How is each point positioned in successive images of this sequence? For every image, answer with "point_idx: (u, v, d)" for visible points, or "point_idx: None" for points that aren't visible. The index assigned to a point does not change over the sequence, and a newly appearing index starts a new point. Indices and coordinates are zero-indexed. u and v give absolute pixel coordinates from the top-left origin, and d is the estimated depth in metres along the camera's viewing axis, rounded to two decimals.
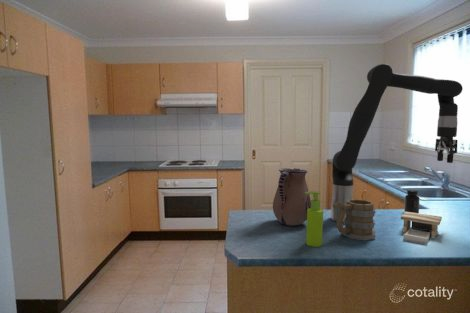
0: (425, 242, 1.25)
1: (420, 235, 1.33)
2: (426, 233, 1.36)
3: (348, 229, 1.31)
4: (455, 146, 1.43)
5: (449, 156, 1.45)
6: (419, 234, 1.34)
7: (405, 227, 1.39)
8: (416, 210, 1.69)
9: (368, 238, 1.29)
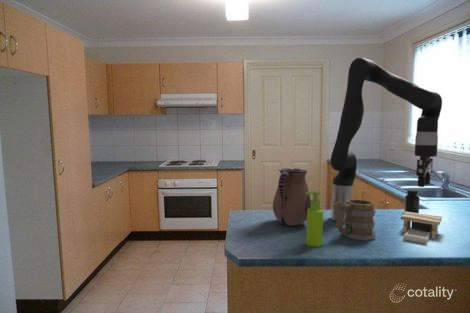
0: (425, 242, 1.25)
1: (420, 235, 1.33)
2: (426, 233, 1.36)
3: (348, 229, 1.31)
4: None
5: None
6: (419, 234, 1.34)
7: (405, 227, 1.39)
8: (416, 210, 1.69)
9: (368, 238, 1.29)
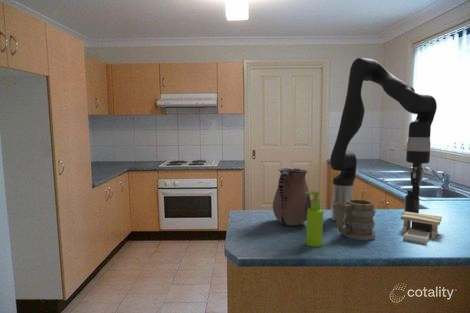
0: (425, 242, 1.25)
1: (420, 235, 1.33)
2: (426, 233, 1.36)
3: (348, 229, 1.31)
4: None
5: None
6: (419, 234, 1.34)
7: (405, 227, 1.39)
8: (416, 210, 1.69)
9: (368, 238, 1.29)
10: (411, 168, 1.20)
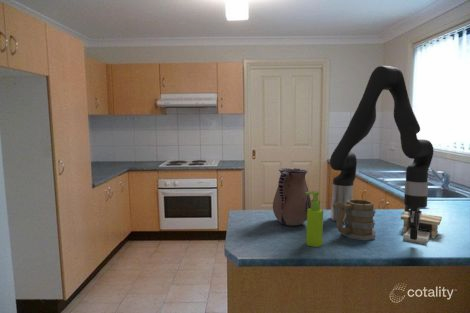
0: (425, 242, 1.25)
1: (420, 235, 1.33)
2: (426, 233, 1.36)
3: (348, 229, 1.31)
4: None
5: None
6: (419, 234, 1.34)
7: (405, 227, 1.39)
8: None
9: (368, 238, 1.29)
10: (409, 211, 1.21)
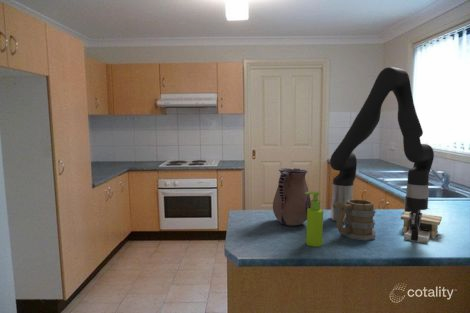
0: (426, 241, 1.26)
1: (421, 234, 1.34)
2: (427, 232, 1.37)
3: (348, 229, 1.31)
4: None
5: None
6: (420, 233, 1.35)
7: (405, 227, 1.39)
8: None
9: (368, 238, 1.29)
10: (410, 213, 1.26)
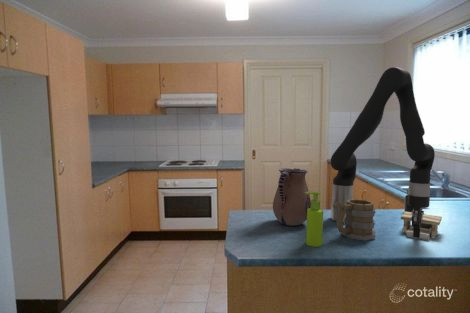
0: (427, 238, 1.29)
1: (422, 231, 1.38)
2: (427, 229, 1.41)
3: (348, 229, 1.31)
4: None
5: None
6: (420, 230, 1.39)
7: (405, 227, 1.39)
8: None
9: (368, 238, 1.29)
10: (412, 211, 1.29)
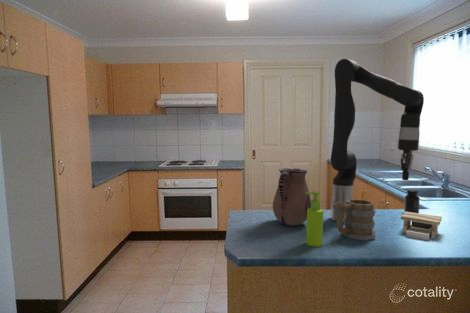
0: (427, 238, 1.29)
1: (421, 231, 1.38)
2: (427, 229, 1.41)
3: (348, 229, 1.31)
4: None
5: None
6: (420, 230, 1.39)
7: (405, 227, 1.39)
8: (416, 210, 1.69)
9: (368, 238, 1.29)
10: (402, 155, 1.35)
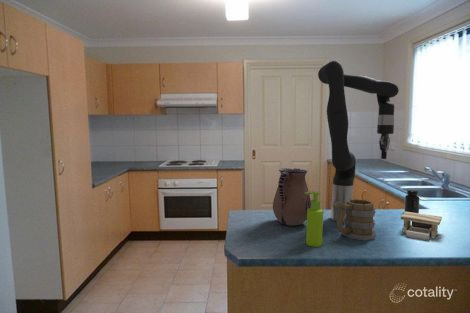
0: (427, 238, 1.29)
1: (421, 231, 1.38)
2: (427, 230, 1.41)
3: (348, 229, 1.31)
4: None
5: None
6: (420, 231, 1.39)
7: (405, 227, 1.39)
8: (416, 210, 1.69)
9: (368, 238, 1.29)
10: (380, 138, 1.63)
